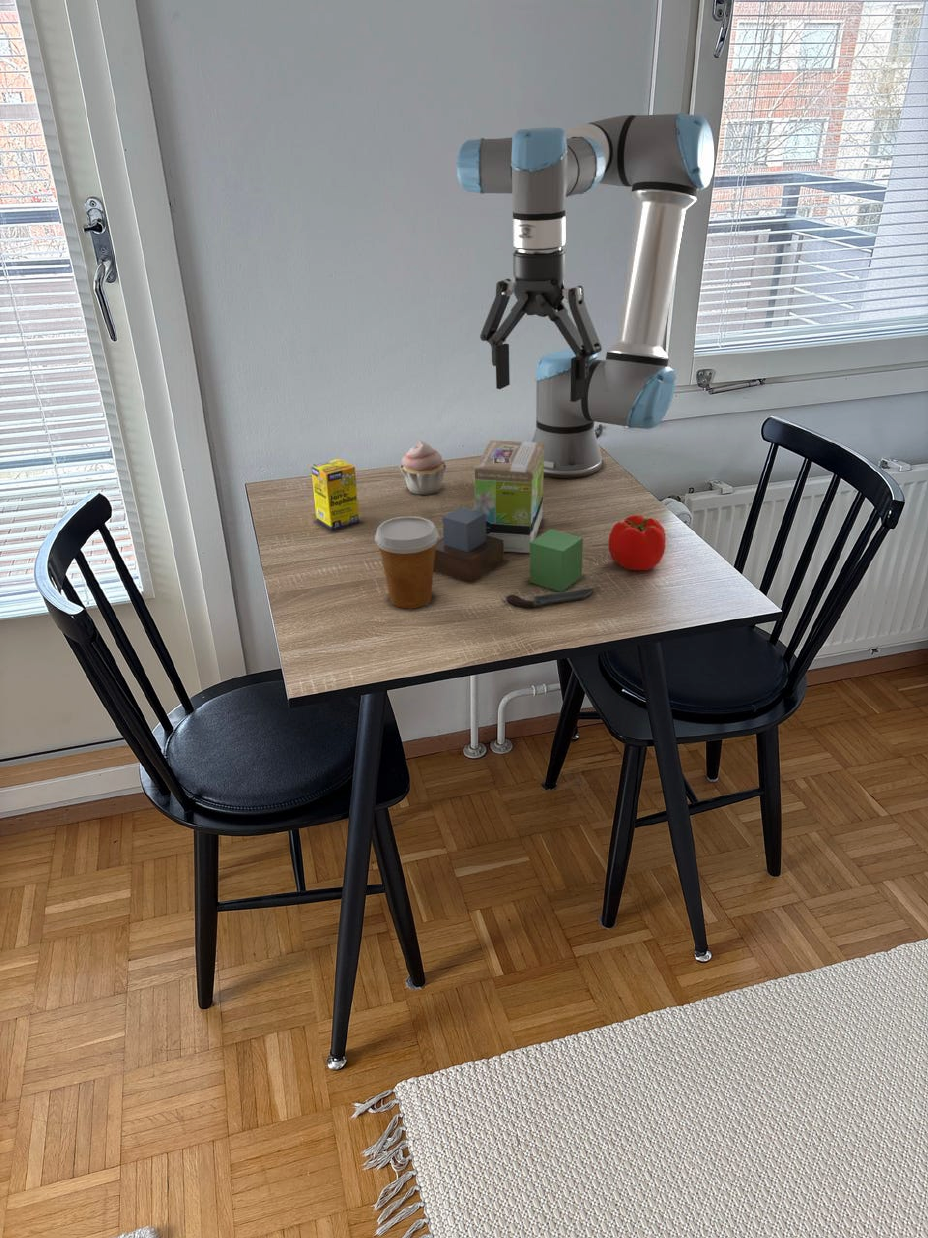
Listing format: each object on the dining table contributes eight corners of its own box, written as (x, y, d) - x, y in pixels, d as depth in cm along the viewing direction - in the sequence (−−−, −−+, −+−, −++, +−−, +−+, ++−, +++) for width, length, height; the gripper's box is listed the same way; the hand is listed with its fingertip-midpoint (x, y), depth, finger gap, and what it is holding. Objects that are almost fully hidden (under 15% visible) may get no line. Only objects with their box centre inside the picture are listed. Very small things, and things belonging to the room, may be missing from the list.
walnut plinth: (460, 548, 159) (459, 527, 157) (503, 562, 154) (503, 540, 152) (427, 568, 152) (426, 546, 150) (471, 582, 148) (470, 560, 146)
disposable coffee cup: (454, 598, 143) (451, 526, 137) (408, 620, 138) (402, 547, 132) (413, 578, 149) (409, 509, 143) (367, 599, 144) (360, 528, 138)
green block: (550, 568, 151) (550, 528, 148) (581, 577, 148) (583, 537, 145) (529, 582, 147) (529, 542, 144) (561, 592, 144) (562, 551, 140)
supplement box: (332, 531, 166) (325, 474, 161) (316, 521, 171) (309, 464, 165) (360, 523, 169) (355, 466, 164) (344, 513, 174) (338, 457, 168)
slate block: (462, 534, 154) (461, 506, 152) (486, 541, 151) (485, 513, 149) (443, 545, 151) (442, 516, 148) (468, 552, 148) (467, 523, 146)
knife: (513, 610, 139) (513, 606, 139) (505, 598, 142) (505, 594, 142) (601, 597, 142) (601, 593, 141) (591, 586, 145) (592, 582, 145)
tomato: (626, 581, 147) (629, 537, 143) (598, 558, 154) (600, 516, 150) (677, 569, 149) (681, 526, 146) (647, 548, 157) (650, 506, 153)
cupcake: (402, 480, 187) (399, 432, 182) (449, 480, 186) (447, 431, 181) (398, 498, 179) (394, 449, 174) (446, 498, 178) (444, 448, 173)
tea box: (532, 554, 156) (533, 471, 148) (473, 551, 158) (471, 468, 150) (543, 518, 169) (544, 440, 161) (489, 515, 170) (487, 437, 163)
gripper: (454, 247, 138) (460, 387, 149) (602, 259, 125) (597, 412, 136) (483, 239, 144) (487, 375, 154) (628, 249, 131) (621, 397, 141)
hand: (539, 393), depth 145 cm, fingers open, 13 cm apart
